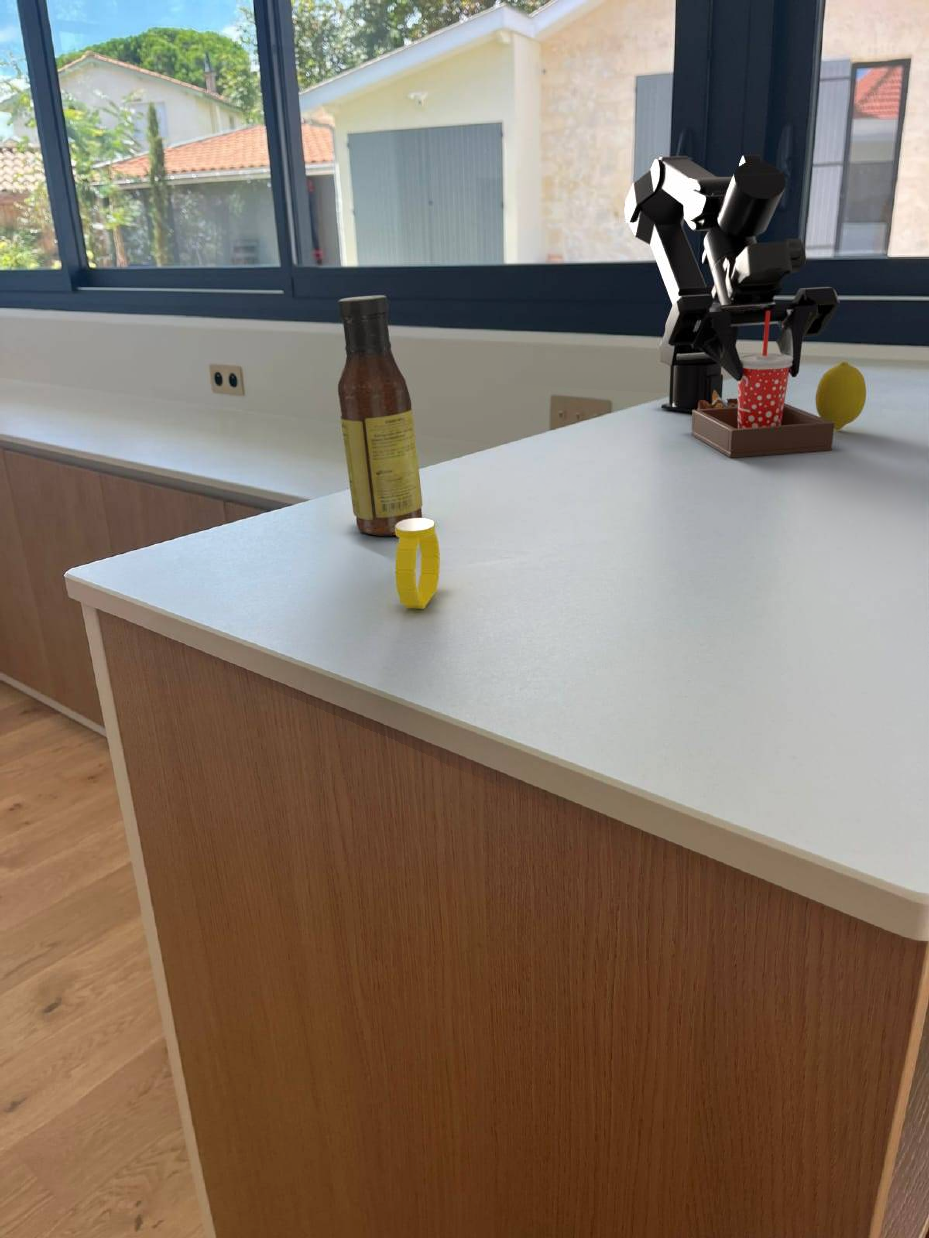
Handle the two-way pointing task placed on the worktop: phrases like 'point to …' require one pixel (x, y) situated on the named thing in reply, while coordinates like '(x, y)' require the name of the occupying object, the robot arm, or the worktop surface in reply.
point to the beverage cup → (763, 386)
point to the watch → (410, 538)
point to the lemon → (841, 395)
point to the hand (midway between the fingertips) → (768, 376)
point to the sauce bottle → (376, 421)
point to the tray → (762, 433)
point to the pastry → (717, 402)
